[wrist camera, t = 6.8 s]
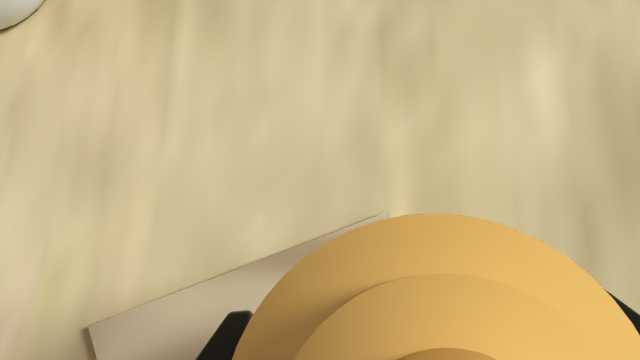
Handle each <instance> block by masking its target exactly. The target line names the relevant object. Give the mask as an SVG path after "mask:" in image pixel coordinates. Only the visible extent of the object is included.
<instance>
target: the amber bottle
mask: <svg viewBox="0 0 640 360" xmlns="http://www.w3.org/2000/svg"><path fill="white" fill-rule="evenodd" d="M232 360H640V335H639V333H638V332H637V330H636V328H635V327H634V325H633V324H632V322H631V321H630V320H629V318H628V317H627V316H626V314H625V313H624V312H623V311H622V309H621V308H620V307H619V305H618V304H617V303H616V302H615V300H614V299H613V298H612V297H611V296H610V295H609V294H608V293H607V292H606V291H605V290H604V289H603V288H602V287H601V286H600V285H599V284H598V283H597V282H596V281H595V280H594V279H593V278H592V277H591V276H590V275H589V274H588V273H586V272H585V271H584V270H583V269H581V268H580V267H579V266H578V265H576V264H575V263H574V262H573V261H571V260H570V259H569V258H568V257H566V256H564V255H563V254H561V253H560V252H558V251H556V250H555V249H553V248H552V247H550V246H548V245H547V244H545V243H544V242H542V241H540V240H538V239H535V238H533V237H531V236H529V235H527V234H525V233H522V232H520V231H518V230H516V229H513V228H510V227H507V226H504V225H501V224H497V223H494V222H491V221H488V220H483V219H478V218H472V217H467V216H462V215H448V214H418V215H404V216H399V217H394V218H389V219H384V220H379V221H376V222H373V223H370V224H367V225H364V226H361V227H358V228H355V229H352V230H350V231H348V232H346V233H344V234H342V235H340V236H338V237H336V238H334V239H332V240H330V241H328V242H326V243H325V244H323V245H322V246H320V247H319V248H317V249H316V250H314V251H313V252H311V253H310V254H308V255H307V256H306V257H304V258H303V259H302V260H301V261H300V262H298V263H297V264H296V265H295V266H294V267H293V268H292V269H291V270H289V271H288V272H287V273H286V274H285V275H284V276H283V277H282V278H281V279H280V280H279V282H278V283H277V284H276V285H275V286H274V287H273V288H272V290H271V291H270V292H269V293H268V294H267V295H266V296H265V298H264V299H263V301H262V302H261V304H260V305H259V307H258V308H257V310H256V311H255V313H254V314H253V316H252V317H251V319H250V320H249V322H248V324H247V326H246V328H245V330H244V332H243V334H242V336H241V338H240V340H239V342H238V344H237V347H236V350H235V352H234V355H233V358H232Z"/></svg>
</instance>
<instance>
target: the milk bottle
mask: <svg viewBox="0 0 640 360" xmlns="http://www.w3.org/2000/svg"><path fill="white" fill-rule="evenodd" d="M44 1H45V0H0V30H1V29H4V28H7V27H9V26H12V25H15V24H17V23H18V22H20V21H22V20H23V19H25V18H27V17H29V16H30V15H31V14H32V13H33V12H34V11H35V10H37V9H38V8H39V7H40V6H41V5H42V3H43V2H44Z"/></svg>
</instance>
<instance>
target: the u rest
mask: <svg viewBox="0 0 640 360" xmlns="http://www.w3.org/2000/svg"><path fill="white" fill-rule="evenodd" d="M389 218H390V216H389V213H388V212H385V213H383V214H380V215H378V216H375V217H372V218H370V219H367V220H364V221H362V222H359V223H357V224H354V225H351V226H349V227H346V228H343V229H341V230H338V231H336V232H333V233H330V234H328V235H325V236H322V237H320V238H317V239H315V240H312V241H309V242H307V243H304V244H301V245H299V246H296V247H294V248H291V249H288V250H286V251H283V252H280V253H278V254H275V255H273V256H270V257H267V258H265V259H262V260H259V261H257V262H254V263H252V264H249V265H246V266H244V267H241V268H238V269H236V270H233V271H231V272H228V273H225V274H223V275H220V276H217V277H215V278H212V279H210V280H207V281H204V282H202V283H199V284H196V285H194V286H191V287H189V288H186V289H183V290H181V291H178V292H175V293H173V294H170V295H168V296H165V297H162V298H160V299H157V300H154V301H152V302H149V303H147V304H144V305H141V306H139V307H136V308H133V309H131V310H128V311H126V312H123V313H120V314H118V315H115V316H112V317H110V318H107V319H105V320H102V321H99V322H97V323H94V324H91V325H89V326H88V329H89V333H90V336H91V340H92V344H93V347H94V351H95V354H96V358H97V360H195V359H196V358H197V356H198V355H199V353H200V352H201V351H202V349H203V348H204V346H205V345H206V344H207V342H208V341H209V339H210V338H211V337H212V335H213V334H214V332H215V331H216V330H217V328H218V327H219V325H220V324H221V323H222V321H223V320H224V318H225V317H226V316H227V314H228V313H230V312H232V311H243V310H250V311H251V312H252V313H253V314H254V313H255V311H256V310H257V308H258V307H259V305H260V304H261V302H262V301H263V299H264V298H265V296H266V295H267V294H268V293H269V292H270V291H271V290H272V288H273V287H274V286H275V285H276V284H277V283H278V282H279V280H280V279H281V278H282V277H283V276H284V275H285V274H286V273H287V272H288V271H289V270H291V269H292V268H293V267H294V266H295V265H296V264H297V263H298V262H300V261H301V260H302V259H303V258H304V257H306V256H307V255H308V254H310V253H311V252H313V251H314V250H316V249H317V248H319V247H320V246H322V245H323V244H325V243H326V242H328V241H330V240H332V239H334V238H336V237H338V236H340V235H342V234H344V233H346V232H348V231H350V230H352V229H355V228H358V227H361V226H364V225H367V224H370V223H373V222H376V221H379V220H384V219H389Z"/></svg>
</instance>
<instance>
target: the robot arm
mask: <svg viewBox="0 0 640 360" xmlns="http://www.w3.org/2000/svg"><path fill="white" fill-rule="evenodd" d="M603 289H604V288H603ZM604 290H605V289H604ZM605 291H606V290H605ZM606 292H607V293H608V294H609V295H610V296H611V297H612V298H613V299H614V300H615V302H616V303H617V304H618V305H619V307H620V308H621V309H622V311H623V312H624V313H625V314H626V316H627V317H628V318H629V320H630V321H631V322H632V324H633V325H634V327H635V328H636V330H637V332H638V333H639V335H640V315H639V314H638V313H636V312H635V311H634V310H632V309H631V308H630V307H628V306H627V305H625V304H624V303H623V302H621V301H620V300H619V299H617V298H616V297H615V296H613V295H612V294H610V293H609V292H608V291H606ZM252 316H253V313H252V312H251V311H250V310H243V311H232V312H230V313H228V314H227V316H226V317H225V318H224V320H223V321H222V323H221V324H220V325H219V327H218V328H217V330H216V331H215V332H214V334H213V335H212V337H211V338H210V339H209V341H208V342H207V344H206V345H205V346H204V348H203V349H202V351H201V352H200V353H199V355H198V356H197V358H196V359H195V360H232V358H233V355H234V352H235V350H236V347H237V344H238V342H239V340H240V338H241V336H242V334H243V332H244V330H245V328H246V326H247V324H248V322H249V320H250V319H251V317H252Z"/></svg>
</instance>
